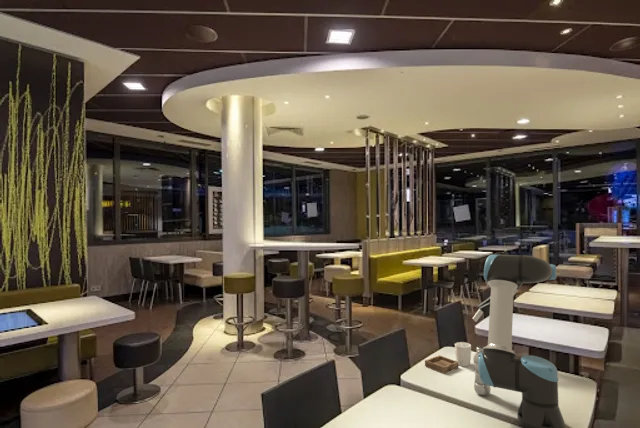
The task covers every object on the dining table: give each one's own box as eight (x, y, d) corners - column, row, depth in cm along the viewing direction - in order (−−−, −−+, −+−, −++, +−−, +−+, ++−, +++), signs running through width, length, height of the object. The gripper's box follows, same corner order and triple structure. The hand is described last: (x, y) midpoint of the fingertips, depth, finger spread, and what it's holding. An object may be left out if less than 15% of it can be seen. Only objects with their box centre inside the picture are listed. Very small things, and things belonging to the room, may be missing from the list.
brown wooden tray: (443, 373, 185) (443, 367, 185) (425, 366, 195) (424, 360, 195) (458, 367, 192) (458, 362, 192) (439, 361, 201) (439, 355, 201)
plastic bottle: (481, 398, 160) (480, 351, 160) (470, 391, 167) (469, 345, 167) (494, 396, 162) (492, 349, 162) (483, 389, 168) (482, 344, 168)
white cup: (451, 362, 198) (451, 343, 198) (463, 360, 202) (462, 341, 202) (463, 368, 191) (462, 348, 191) (475, 365, 195) (474, 345, 195)
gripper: (528, 302, 191) (504, 335, 188) (494, 292, 215) (472, 321, 212) (519, 292, 190) (494, 326, 186) (486, 283, 214) (463, 313, 210)
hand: (482, 323), depth 199 cm, fingers open, 13 cm apart
